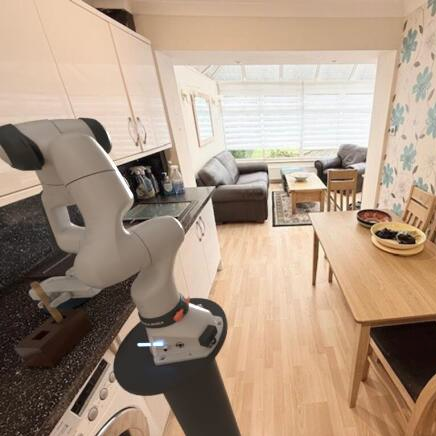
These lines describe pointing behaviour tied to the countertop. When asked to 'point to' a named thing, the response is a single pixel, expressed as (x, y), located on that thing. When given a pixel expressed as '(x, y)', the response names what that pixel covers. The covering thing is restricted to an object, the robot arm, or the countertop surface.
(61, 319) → the stirring stick
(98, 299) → the countertop surface
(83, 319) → the utensil block
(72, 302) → the bowl
